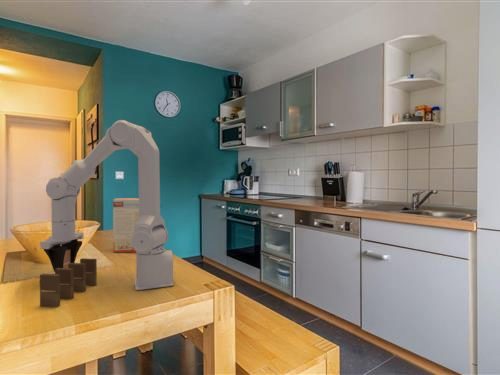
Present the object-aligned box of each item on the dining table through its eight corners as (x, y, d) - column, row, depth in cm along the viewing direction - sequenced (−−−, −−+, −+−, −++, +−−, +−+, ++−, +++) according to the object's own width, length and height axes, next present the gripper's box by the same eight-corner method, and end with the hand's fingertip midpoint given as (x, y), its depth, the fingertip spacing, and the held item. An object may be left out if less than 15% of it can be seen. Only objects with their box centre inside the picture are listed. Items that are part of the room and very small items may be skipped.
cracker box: (153, 250, 122) (154, 198, 122) (147, 253, 116) (147, 199, 116) (120, 249, 123) (120, 197, 123) (112, 252, 117) (112, 198, 117)
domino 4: (71, 290, 77) (71, 262, 77) (85, 290, 77) (85, 263, 77) (68, 291, 76) (68, 263, 76) (83, 292, 76) (83, 264, 76)
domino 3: (58, 296, 73) (58, 267, 73) (73, 297, 72) (73, 268, 72) (55, 298, 72) (54, 269, 72) (70, 299, 71) (70, 269, 71)
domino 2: (70, 273, 88) (70, 249, 88) (60, 278, 84) (60, 252, 84) (67, 273, 88) (67, 249, 88) (57, 278, 84) (57, 252, 84)
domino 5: (82, 284, 82) (82, 258, 82) (96, 284, 81) (96, 258, 81) (80, 285, 81) (80, 259, 81) (94, 286, 80) (94, 259, 80)
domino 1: (43, 304, 68) (43, 273, 68) (60, 305, 68) (59, 274, 68) (40, 306, 67) (39, 275, 67) (56, 307, 67) (56, 275, 67)
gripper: (68, 217, 93) (68, 261, 94) (29, 224, 79) (29, 276, 79) (90, 218, 93) (90, 262, 93) (54, 225, 78) (54, 277, 78)
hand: (64, 269), depth 86 cm, fingers closed on domino 2, 4 cm apart
